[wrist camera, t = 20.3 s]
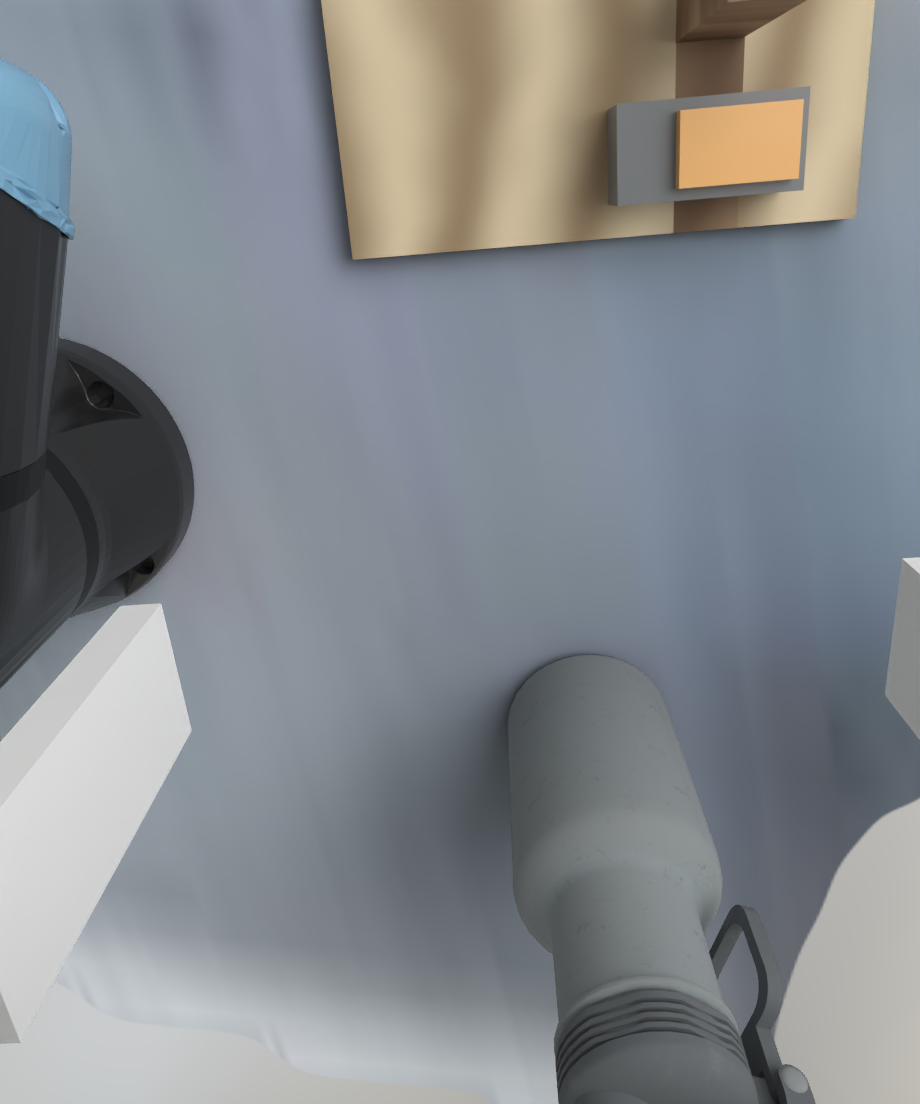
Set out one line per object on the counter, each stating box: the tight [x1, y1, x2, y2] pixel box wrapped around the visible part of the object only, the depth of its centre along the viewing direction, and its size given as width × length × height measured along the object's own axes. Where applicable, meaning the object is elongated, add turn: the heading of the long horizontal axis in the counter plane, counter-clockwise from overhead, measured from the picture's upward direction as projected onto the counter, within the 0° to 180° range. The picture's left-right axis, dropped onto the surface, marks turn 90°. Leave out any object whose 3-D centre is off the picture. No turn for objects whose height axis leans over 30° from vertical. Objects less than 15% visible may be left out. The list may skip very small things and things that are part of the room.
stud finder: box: [607, 86, 811, 206], centre depth 38 cm, size 8×4×4 cm, turn 95°
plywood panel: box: [321, 0, 875, 260], centre depth 40 cm, size 24×12×1 cm, turn 95°
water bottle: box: [508, 655, 815, 1104], centre depth 40 cm, size 10×10×28 cm
